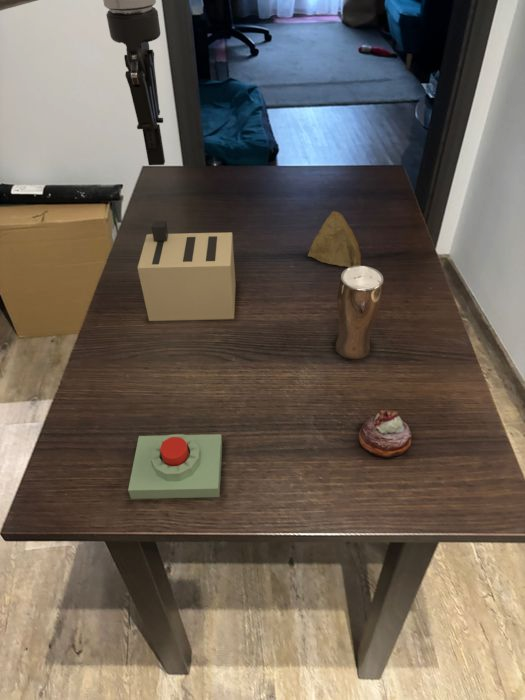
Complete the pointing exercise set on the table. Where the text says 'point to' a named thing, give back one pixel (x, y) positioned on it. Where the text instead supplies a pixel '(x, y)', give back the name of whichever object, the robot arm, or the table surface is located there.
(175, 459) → the red button
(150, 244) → the toaster
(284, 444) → the table surface
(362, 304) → the beer glass
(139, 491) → the control block
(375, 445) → the pastry
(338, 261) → the rock
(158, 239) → the button
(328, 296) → the table surface
